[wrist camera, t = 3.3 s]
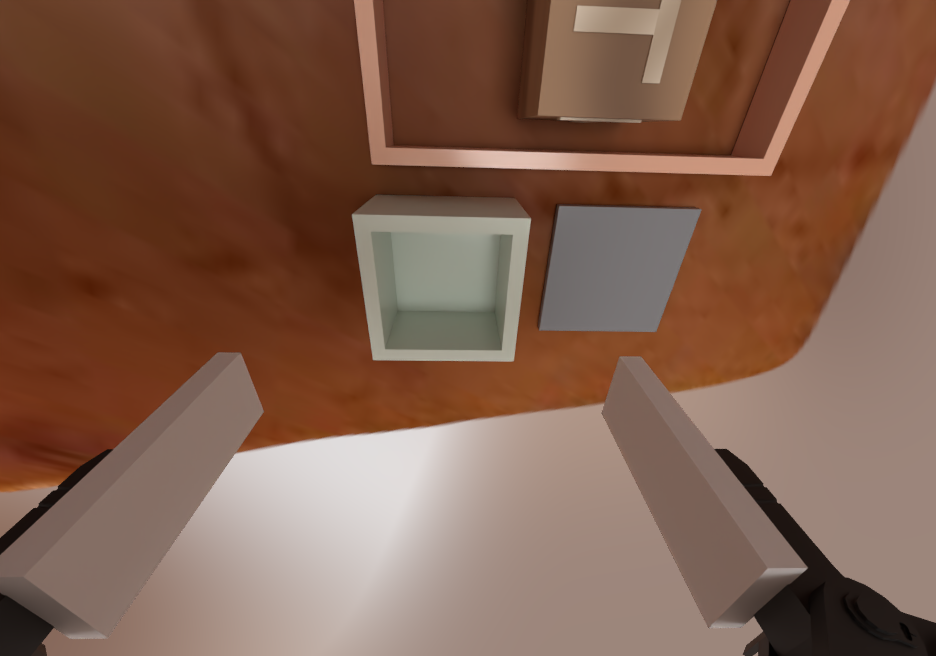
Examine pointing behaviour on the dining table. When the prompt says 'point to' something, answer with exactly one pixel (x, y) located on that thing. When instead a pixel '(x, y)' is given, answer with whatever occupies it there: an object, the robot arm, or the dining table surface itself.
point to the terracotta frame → (754, 152)
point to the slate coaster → (613, 266)
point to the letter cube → (610, 59)
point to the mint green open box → (442, 275)
